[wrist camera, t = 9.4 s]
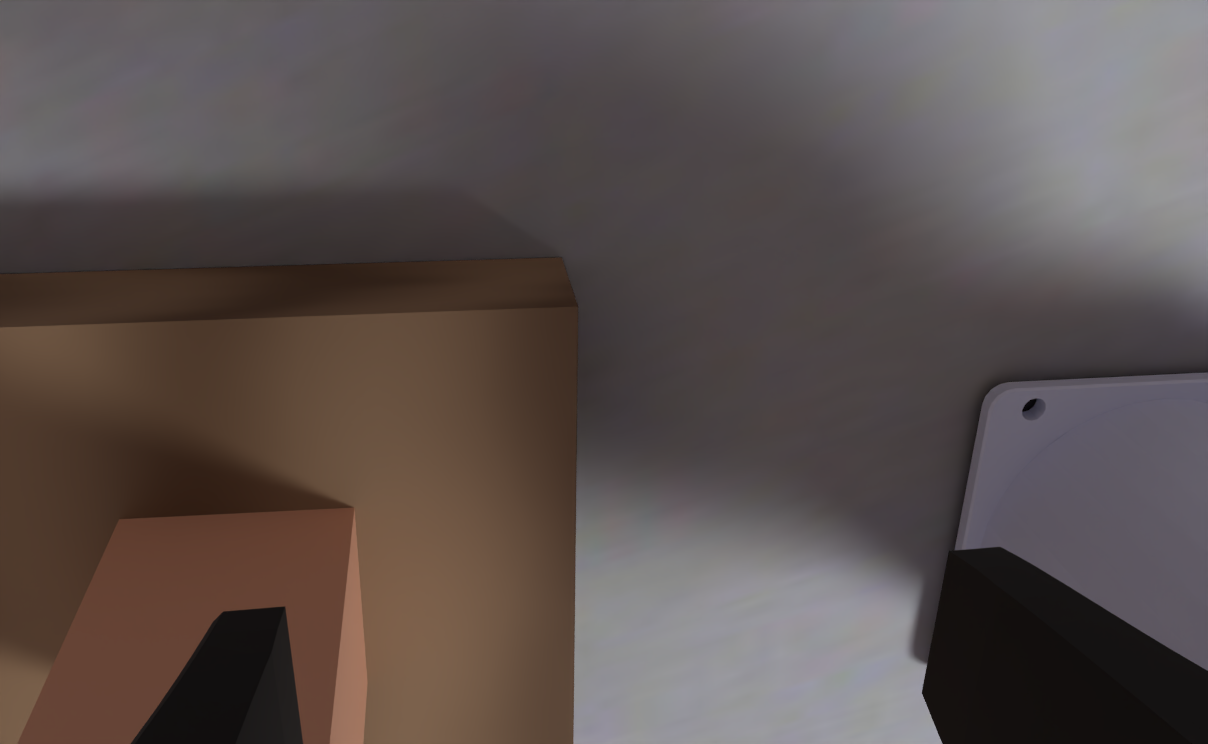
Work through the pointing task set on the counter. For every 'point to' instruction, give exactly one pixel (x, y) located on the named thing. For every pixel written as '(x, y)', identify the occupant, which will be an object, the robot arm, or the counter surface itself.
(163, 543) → the terracotta block
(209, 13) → the counter surface
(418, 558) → the walnut base
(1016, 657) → the robot arm
